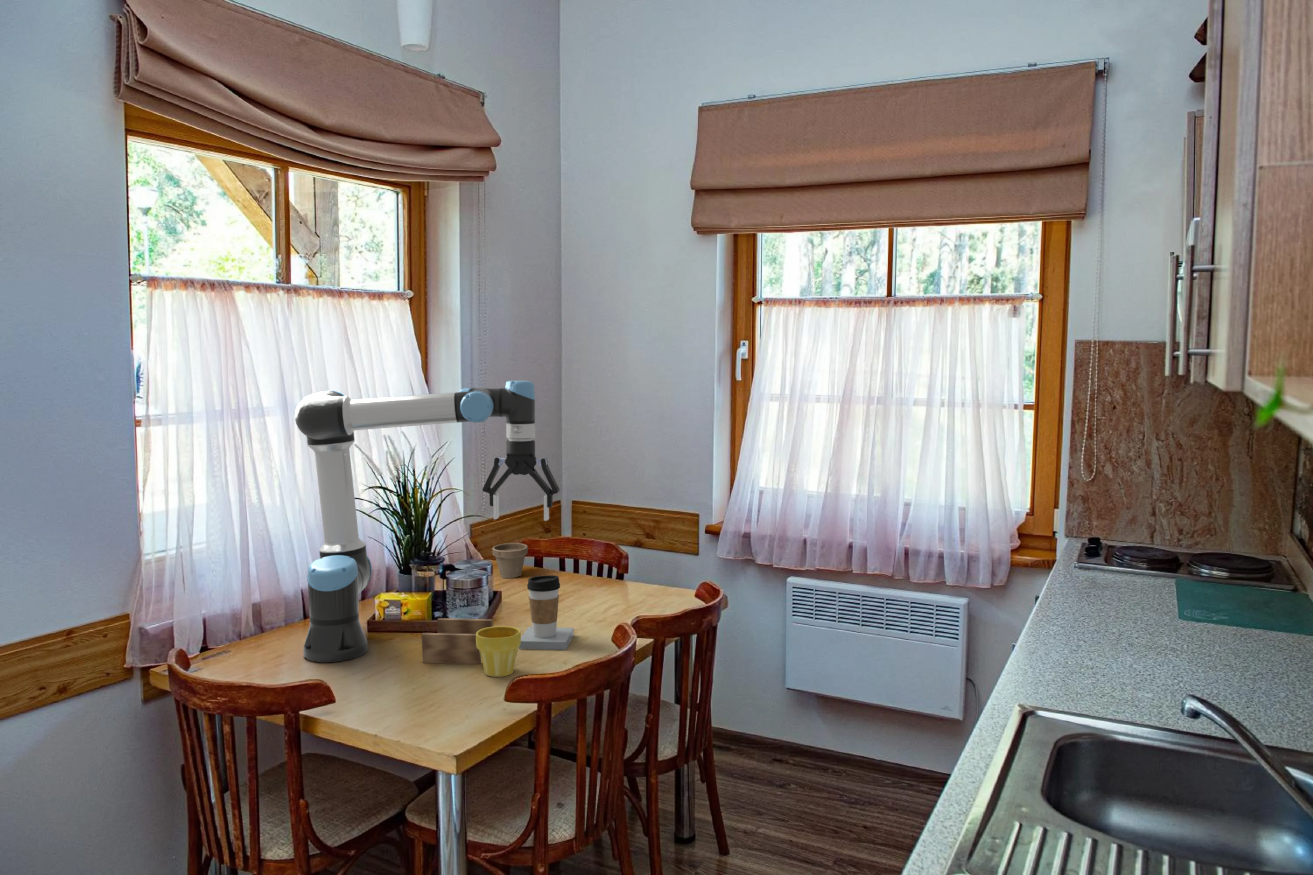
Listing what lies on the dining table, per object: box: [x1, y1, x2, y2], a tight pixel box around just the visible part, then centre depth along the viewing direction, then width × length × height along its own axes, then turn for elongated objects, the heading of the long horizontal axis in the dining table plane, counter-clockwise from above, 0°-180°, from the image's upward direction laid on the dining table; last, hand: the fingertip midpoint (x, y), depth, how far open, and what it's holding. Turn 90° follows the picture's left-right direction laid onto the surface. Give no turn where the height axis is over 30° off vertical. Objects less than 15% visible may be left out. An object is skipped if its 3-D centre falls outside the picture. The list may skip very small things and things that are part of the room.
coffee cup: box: [527, 574, 561, 638], centre depth 245 cm, size 8×8×15 cm
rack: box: [421, 617, 494, 665], centre depth 237 cm, size 14×13×7 cm
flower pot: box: [492, 542, 529, 579], centre depth 314 cm, size 12×11×10 cm
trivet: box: [518, 626, 575, 651], centre depth 246 cm, size 12×12×2 cm
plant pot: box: [476, 625, 522, 678], centre depth 223 cm, size 10×10×10 cm
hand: (521, 519), depth 253 cm, fingers open, 13 cm apart
